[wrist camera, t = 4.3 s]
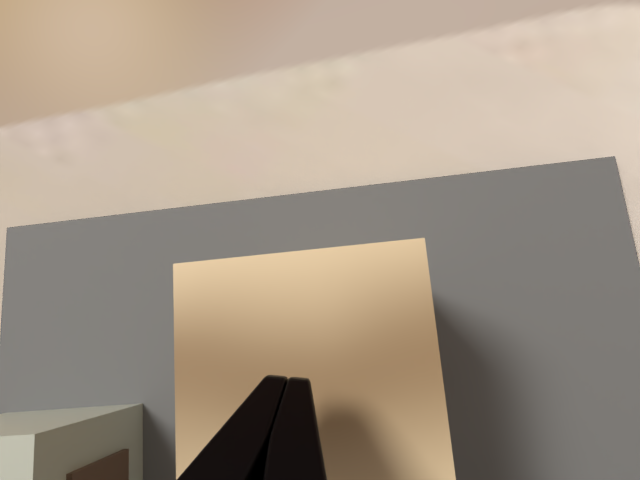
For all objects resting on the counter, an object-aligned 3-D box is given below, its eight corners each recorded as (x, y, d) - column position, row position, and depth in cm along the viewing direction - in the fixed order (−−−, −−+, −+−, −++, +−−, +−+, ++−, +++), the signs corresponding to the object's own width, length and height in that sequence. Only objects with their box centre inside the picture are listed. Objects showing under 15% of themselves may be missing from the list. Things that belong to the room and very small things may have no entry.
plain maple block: (426, 441, 17) (462, 529, 9) (266, 449, 18) (176, 539, 10) (407, 278, 18) (424, 237, 11) (258, 292, 19) (173, 263, 11)
